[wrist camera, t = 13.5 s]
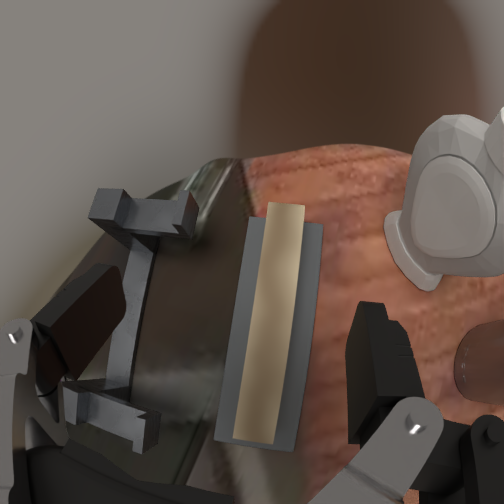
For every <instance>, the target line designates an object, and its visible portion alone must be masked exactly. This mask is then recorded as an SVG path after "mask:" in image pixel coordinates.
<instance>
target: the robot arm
mask: <svg viewBox="0 0 504 504" xmlns="http://www.w3.org/2000/svg"><path fill="white" fill-rule="evenodd" d="M125 313H126V299H125V294H124V290H123V285H122V280H121V275H120V271H119V269H118V267H116V266H112V265H107V264H101V263H97V264H95V265H94V266H93V267H92V268H90V269H89V270H88V271H87V272H86V273H85V274H84V275H82V276H80V277H78V278H77V279H75V280H73V281H72V282H70V283H69V284H68V285H67V286H66V287H65V288H64V290H63V291H61V292H59V293H58V294H57V295H56V297H54V298H53V299H52V300H51V301H50V302H49V303H48V304H47V305H46V306H44V307H43V308H42V309H41V310H40V311H39V312H38V313H37V314H36V315H35V316H34V317H33V318H32V319H31V320H30V321H29V320H27V319H23V318H19V319H14V320H12V321H9V322H8V323H6V324H5V325H4V326H3V327H2V328H1V329H0V504H234V496H229V495H224V494H219V493H215V492H210V491H206V490H202V489H198V488H194V487H191V486H187V485H172V484H161V483H152V482H144V481H139V480H136V479H134V478H133V477H131V476H130V475H129V474H127V473H126V472H124V471H123V470H122V469H120V468H119V467H117V466H116V465H115V464H113V463H112V462H111V461H110V460H108V459H107V458H106V457H104V456H103V455H102V454H100V453H98V452H95V451H93V450H91V449H89V448H87V447H85V446H83V445H81V444H79V443H77V442H75V441H73V440H72V439H70V438H69V436H68V433H67V430H66V422H65V411H64V396H63V385H62V382H61V381H60V380H61V379H62V377H63V376H65V377H67V378H69V379H72V380H74V381H77V379H78V378H79V377H80V375H81V374H82V372H83V371H84V370H85V368H86V367H87V366H88V364H89V363H90V362H91V360H92V359H93V358H94V356H95V355H96V353H97V352H98V351H99V349H100V348H101V347H102V346H103V344H104V343H105V342H106V340H107V339H108V338H109V336H110V335H111V334H112V332H113V331H114V330H115V329H116V327H117V326H118V325H119V323H120V322H121V321H122V319H123V318H124V316H125ZM410 346H411V344H410V341H409V338H408V335H407V332H406V331H405V330H404V328H403V327H402V326H401V325H400V324H399V322H398V321H393V320H389V319H388V315H387V312H386V308H385V305H384V304H383V303H376V302H366V301H360V302H359V304H358V306H357V309H356V313H355V316H354V320H353V323H352V326H351V329H350V333H349V336H348V339H347V344H346V351H345V360H346V377H347V400H348V444H360V451H359V452H358V453H357V455H356V456H355V457H354V458H353V459H352V460H351V461H350V462H349V464H348V465H346V466H345V467H344V468H343V469H342V470H341V471H340V472H339V473H338V474H337V475H336V476H335V477H334V478H333V479H332V480H331V481H330V482H329V483H328V484H327V485H326V486H325V487H324V488H323V489H322V490H321V491H320V492H319V493H318V494H317V495H316V496H315V497H314V498H313V499H312V500H311V501H310V502H308V503H307V504H404V501H403V497H404V495H405V494H406V492H407V491H408V489H414V490H419V504H504V421H503V420H501V419H500V418H498V417H497V416H494V415H483V416H480V417H479V418H477V419H476V421H475V422H474V423H473V424H472V425H471V426H470V425H465V424H461V423H456V422H452V421H448V420H445V419H443V416H442V414H441V412H440V410H439V409H438V408H437V406H436V405H434V404H433V403H432V402H430V401H429V400H427V399H425V396H424V392H423V388H422V384H421V380H420V376H419V372H418V369H417V365H416V362H415V358H413V356H414V355H413V351H412V348H410ZM454 374H455V381H456V384H457V387H458V389H459V391H460V392H461V394H462V395H463V396H464V397H465V398H467V399H469V400H472V401H478V402H483V403H489V404H494V405H500V406H504V320H499V321H495V322H491V323H487V324H482V325H479V326H476V327H475V328H473V329H472V330H471V331H469V332H468V333H467V335H466V336H465V337H464V339H463V340H462V342H461V344H460V346H459V348H458V351H457V354H456V359H455V365H454Z"/></svg>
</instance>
